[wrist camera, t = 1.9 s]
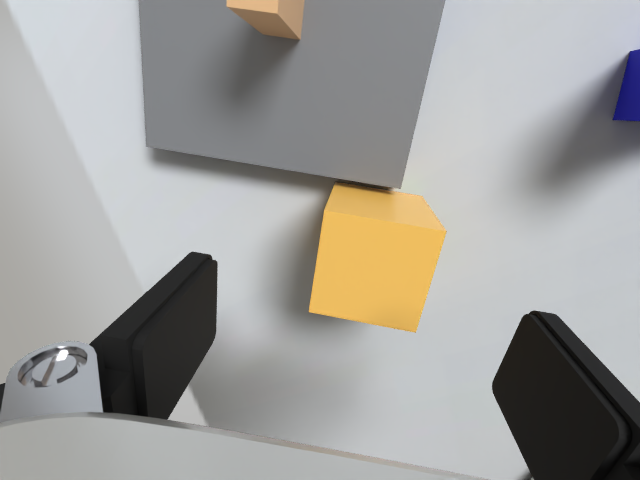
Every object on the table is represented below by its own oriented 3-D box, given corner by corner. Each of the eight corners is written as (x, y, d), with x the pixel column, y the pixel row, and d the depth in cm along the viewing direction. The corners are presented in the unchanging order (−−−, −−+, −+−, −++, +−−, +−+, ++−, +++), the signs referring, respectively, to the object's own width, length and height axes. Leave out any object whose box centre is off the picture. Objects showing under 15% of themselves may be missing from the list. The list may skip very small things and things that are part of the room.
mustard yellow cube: (401, 273, 21) (415, 332, 15) (322, 259, 21) (308, 312, 16) (421, 196, 19) (446, 231, 13) (335, 181, 19) (324, 210, 14)
